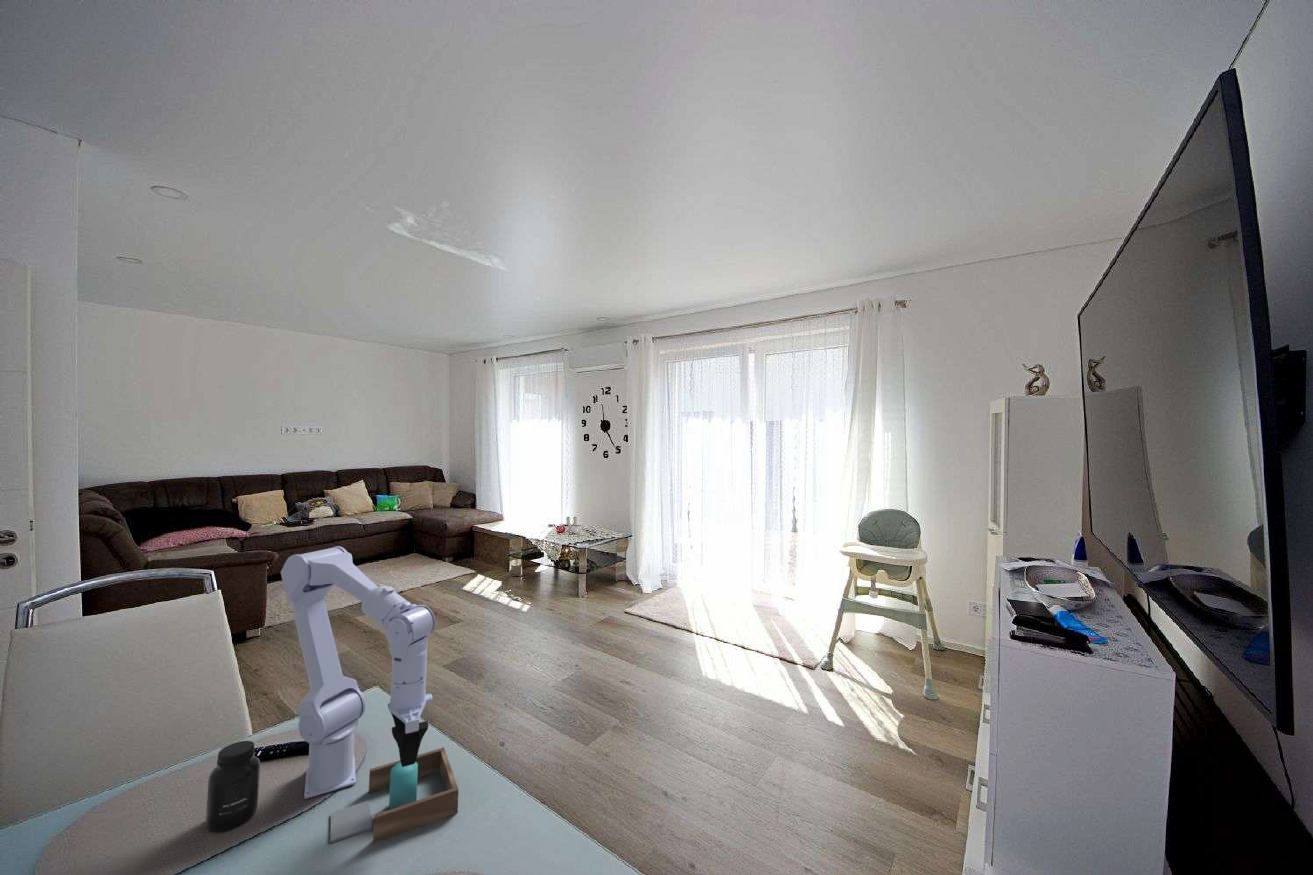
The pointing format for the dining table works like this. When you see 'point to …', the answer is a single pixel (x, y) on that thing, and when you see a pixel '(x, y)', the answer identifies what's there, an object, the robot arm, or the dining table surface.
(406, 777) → the capsule
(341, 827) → the mat
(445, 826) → the dining table surface
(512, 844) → the dining table surface
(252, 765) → the supplement bottle
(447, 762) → the open u-shaped frame
